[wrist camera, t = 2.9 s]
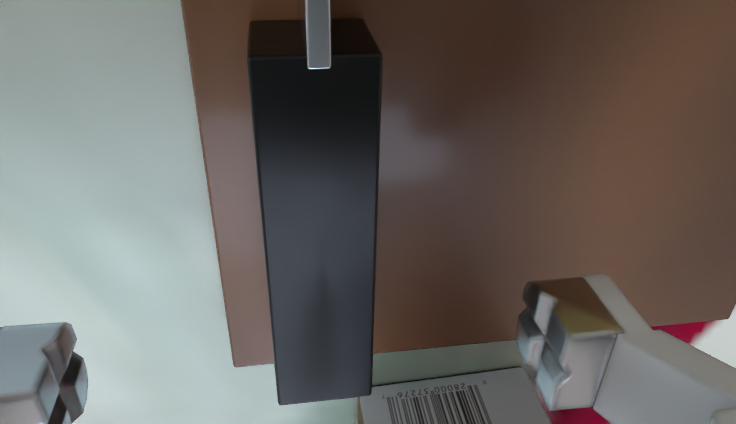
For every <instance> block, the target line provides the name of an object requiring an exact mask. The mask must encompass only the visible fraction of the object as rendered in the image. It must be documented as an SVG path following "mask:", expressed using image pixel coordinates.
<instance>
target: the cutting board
mask: <svg viewBox="0 0 736 424" xmlns="http://www.w3.org/2000/svg"><path fill="white" fill-rule="evenodd" d="M181 6H182V12H183V19H184V26H185V33H186V40H187V47H188V54H189V61H190V68H191V75H192V82H193V88H194V95H195V102H196V109H197V116H198V123H199V130H200V137H201V144H202V151H203V158H204V165H205V171H206V178H207V185H208V192H209V199H210V206H211V213H212V220H213V227H214V234H215V241H216V248H217V254H218V261H219V268H220V275H221V282H222V289H223V296H224V303H225V310H226V317H227V324H228V331H229V337H230V344H231V351H232V358H233V365H234V367H243V366H253V365H263V364H274V352H273V342H272V331H271V320H270V309H269V298H268V287H267V276H266V266H265V255H264V244H263V233H262V222H261V211H260V200H259V190H258V179H257V168H256V157H255V146H254V135H253V124H252V113H251V103H250V92H249V81H248V70H247V45H248V29H249V23H250V22H251V21H267V20H298V17H297V0H181ZM331 19H363V20H364V21H365V23H366V25H367V27H368V29H369V31H370V32H371V34H372V36H373V38H374V40H375V42H376V43H377V45H378V47H379V49H380V51H381V53H382V55H383V64H382V95H381V125H380V155H379V186H378V216H377V247H376V277H375V308H374V338H373V354H376V353H386V352H396V351H406V350H417V349H427V348H437V347H447V346H457V345H468V344H478V343H488V342H498V341H508V340H517V337H516V325H517V319H518V315H519V314H520V313H521V312H522V311H523V310H524V309H525V308H526V307H527V306H526V304H525V303H524V301H523V299H522V295H523V291H524V287H525V285H526V284H527V282H528V281H537V280H548V279H558V278H569V277H578V276H583V275H593V274H602V273H603V274H605V275H607V276H609V277H610V278H611V279H612V281H613V282H614V283H615V284H616V285H617V287H618V288H619V289H620V290H621V292H622V293H623V294H624V295H625V297H626V298H627V299H628V300H629V302H630V303H631V304H632V305H633V306H634V308H635V309H636V310H637V311H638V313H639V314H640V315H641V316H642V318H643V319H644V320H645V321H646V323H647V324H648V325H649V326H650V327H651V326H661V325H672V324H682V323H692V322H702V321H712V320H723V319H728V318H729V317H730V315H731V313H732V310H733V308H734V306H735V304H736V0H331Z"/></svg>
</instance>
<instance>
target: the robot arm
mask: <svg viewBox="0 0 736 424" xmlns="http://www.w3.org/2000/svg"><path fill="white" fill-rule="evenodd" d="M522 299H523V301H524V303H525V304H526V306H527V307H526V308H525V309H524V310H523V311H522V312H521V313H520V314H519V315H518V319H517V325H516V337H517V345H518V348H519V351H520V354H521V356H522V359H523V361H524V363H525V364H526V365H527V366H529V367H530V368H532V369H533V370H535V371H536V372H537V375H536V379H535V384H536V386H537V388H538V390H539V392H540V394H541V396H542V398H543V400H544V402H545V403H546V405H547V407H548V409H549V411H554V410H564V409H575V408H585V407H593V409H594V410H595V411H596V412H597V413H599V414H600V415H601V416H602V417H604V418H605V419H606V420H607V421H609V422H610V423H611V424H736V368H734V367H732V366H730V365H728V364H726V363H724V362H722V361H720V360H718V359H716V358H714V357H712V356H710V355H708V354H707V353H705V352H702V351H701V350H699V349H697V348H695V347H693V346H691V345H689V344H687V343H685V342H683V341H681V340H679V339H677V338H675V337H674V336H672V335H670V334H668V333H666V332H664V331H662V330H652V329H651V327H650V326H649V325H648V324H647V323H646V321H645V320H644V319H643V318H642V316H641V315H640V314H639V313H638V311H637V310H636V309H635V308H634V306H633V305H632V304H631V303H630V302H629V300H628V299H627V298H626V297H625V295H624V294H623V293H622V292H621V290H620V289H619V288H618V287H617V285H616V284H615V283H614V282H613V281H612V279H611V278H610V277H609V276H607V275H605V274H603V273H602V274H593V275H583V276H578V277H569V278H558V279H548V280H537V281H528V282H527V284H526V285H525V287H524V291H523V295H522ZM76 340H77V338H76V335H75V333H74V330H73V327H72V325H71V324H69V323H67V322H62V323H47V324H32V325H17V326H4V327H0V424H72V423H73V422H74V421H75V420H76V419H77V418H78V417H79V416H80V415H81V414H82V413H83V411H84V407H85V403H86V400H87V389H88V377H87V370H86V366H85V363H84V359H83V358H82V357H81V356H79V355H78V354H76V353H75V352H73V349H74V346H75V343H76Z"/></svg>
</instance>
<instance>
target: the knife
mask: <svg viewBox="0 0 736 424" xmlns="http://www.w3.org/2000/svg"><path fill="white" fill-rule="evenodd" d="M297 17H298V20H267V21H251V22H250V23H249V29H248V45H247V70H248V81H249V92H250V103H251V113H252V124H253V135H254V146H255V157H256V168H257V179H258V190H259V200H260V211H261V222H262V233H263V244H264V255H265V266H266V276H267V287H268V298H269V309H270V320H271V331H272V342H273V352H274V363H275V374H276V385H277V396H278V403H279V405H288V404H297V403H307V402H316V401H325V400H335V399H344V398H353V397H362V396H370V395H371V393H372V369H373V338H374V308H375V277H376V247H377V216H378V186H379V155H380V125H381V95H382V64H383V55H382V53H381V51H380V49H379V47H378V45H377V43H376V42H375V40H374V38H373V36H372V34H371V32H370V31H369V29H368V27H367V25H366V23H365V21H364V20H363V19H331V0H297Z"/></svg>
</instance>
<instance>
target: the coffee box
mask: <svg viewBox="0 0 736 424" xmlns="http://www.w3.org/2000/svg"><path fill="white" fill-rule="evenodd" d="M354 407H355V423H356V424H552V423H551V421H550V419H549V417H548V415H547V413H546V411H545V409H544V407H543V405H542V403H541V401H540V399H539V397H538V395H537V393H536V391H535V389H534V387H533V385H532V383H531V381H530V379H529V377H528V375H527V373H526V371H525V370H524V369H523V368H511V369H504V370H497V371H490V372H482V373H475V374H468V375H460V376H452V377H445V378H437V379H430V380H423V381H415V382H407V383H399V384H392V385H385V386H377V387H372V393H371V395H370V396H362V397H354Z"/></svg>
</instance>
